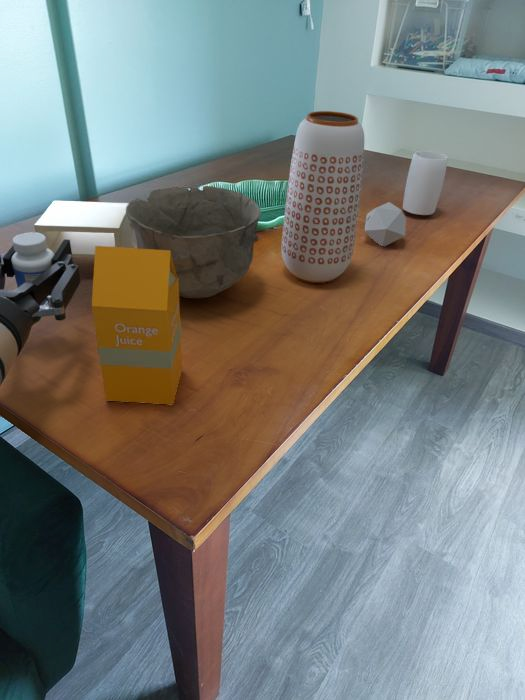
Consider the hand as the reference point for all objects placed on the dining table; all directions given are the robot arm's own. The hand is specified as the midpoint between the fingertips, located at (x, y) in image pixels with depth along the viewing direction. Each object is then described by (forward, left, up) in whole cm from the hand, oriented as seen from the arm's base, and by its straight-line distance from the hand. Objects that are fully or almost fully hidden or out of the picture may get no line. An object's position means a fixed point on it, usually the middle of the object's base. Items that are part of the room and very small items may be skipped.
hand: (46, 247), depth 75 cm
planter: (+42, +21, -13) cm, 49 cm away
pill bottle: (0, -5, -6) cm, 8 cm away
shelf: (0, +22, -13) cm, 25 cm away
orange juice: (+15, -14, -13) cm, 24 cm away
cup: (+72, +55, -13) cm, 91 cm away
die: (+59, +37, -13) cm, 71 cm away
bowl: (+20, +14, -13) cm, 28 cm away
